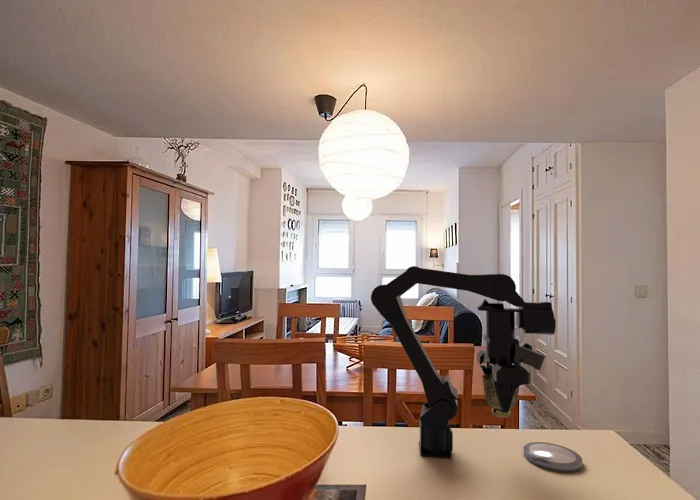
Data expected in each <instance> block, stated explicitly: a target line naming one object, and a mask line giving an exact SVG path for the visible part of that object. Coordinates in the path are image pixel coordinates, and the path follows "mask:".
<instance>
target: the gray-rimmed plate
mask: <svg viewBox="0 0 700 500" xmlns="http://www.w3.org/2000/svg"><path fill="white" fill-rule="evenodd" d="M523 456H524V458H525V459H526V460H527V461H528V462H529V463H531V464H533V465H534V466H537V467H540V468H542V469H545V470H547V471H552V472H557V473H564V474H565V473H567V474H569V473H577V472H579V471H581V470H583V458H582V457H581V455H580V454H578V453H577V452H576V451H574V450H573V449H570V448H568V447H566V446H563V445H559V444H556V443H551V442H546V441H534V442H532V441H531V442H528V443H525V444H524V446H523Z"/></svg>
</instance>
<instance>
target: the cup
mask: <svg viewBox="0 0 700 500" xmlns="http://www.w3.org/2000/svg"><path fill="white" fill-rule="evenodd" d="M491 377H492V378H493V376H492V374H491V373H490V374H489V376H488V375H487V374H486V373H485V374H484V375H483V374H482V375H481V378H482V384H483V392H484V398H485V400H486V402H487V404H488V406H489V407H491V412H492V414H493V416H495V417H498V418H509V417H510V416H511V410H513V408H515V407H516V405H517V403H518V400H519V399H518V398H519V392H520V390H519V389H520V386H519V387H518V388H516V390H515V393H514V396H513V399H512V402H511V406H510V409H509V412H508V413H506V412H503V411H502V409H501V406H500V403H499V400H498V397H497V394H496V392H495V389H494V386H493V383H492V380H491Z"/></svg>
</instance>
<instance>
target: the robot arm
mask: <svg viewBox="0 0 700 500" xmlns="http://www.w3.org/2000/svg"><path fill="white" fill-rule="evenodd" d="M417 284H419V285H425V286H426V285H427V286H433V287H440V288H445V289H446V288H447V289H454V290H460V291H467V292H471V293H473V294H477V295H479V296H482V297H485V298H489V299H492V300H495V301H499V303H498V302H496V303H495V302H489V301H488V300H487V299H485V298H484V299H483V300H482V301H481V303H480V304H479V305H477V306H476V309H477V310H478V311H480V312H481V311H482V312H484V311H485V318H486V319H485V321H486V323H485V324H486V325H485V326H486V327H485V328H486V329H485V330H486V333H485V334H483V340H484V341H486V342H485V343H486V344H485V345H486V349H480V351H478V352H477V353H476V362H477V363H478V364H479V369H480V370H481V372H482V375H484V374H485V373H486V374H487V375H488V376H489V374H490V373H491V374H492V376H493V378H492V377H491V380H492V383H493V386H494V389H495V392H496V394H497V397H498V400H499V403H500V406H501V409H502V411H503V412H506V413H508V412H509V409H510V406H511V402H512V399H513V396H514V393H515V390H516V388H518V387H519V388H520V387H521V386H523V385H530V384H531V373H530V372H529V371H528V370H527V369H526V367H524V366H522V365H521V363H522V364H525V365H527V366H529V367H533V369H534V370H537V371H541V369H542V367H543V363H544V361H545V359H546V356H545V355H543V354H541V353H540V352H538V351H535V350H533V346H532V344H529V343H527V342H524V341H522V342H521V343H520V340H518V338H516V336H515V335H516V334H515V333H516V330H515V326H516V328H517V329H521V330H522V333H523V334H524V335H525V334H526V335H529V334H530V335H544V336H547V335H548V336H554V335H555V333H556V325H557V323H556V322H557V321H556V318H555V313H554V310H553V306H552V305H553V304H552V302H551V301H540V302H536V301H535V302H533V301H532V302H531V301H525V300H524V298H522V297H521V295H520V294H519V293H518V292H517V285H516V283H515V281H514V280H513V278H512V277H511V276H509V275H508V274H505V273H493V274H492V273H491V274H490V273H488V274H486V273H485V274H484V273H483V274H465V273H458V272H452V271H445V270H444V271H443V270H439V269H438V270H436V269H431V268H425V267H424V268H423V267H419V266H416V265H415V266H414V265H413V266H410V267H408V268H407V269H406V270H405V271H404V272H402V273H401V274H400V275H398V276H396V277H395V278H394V279H392V280H390V281H389V282H388V283H387V284H379V285H376V286H375V288H373V290H372V292H371V295H370V301H371V304H372V305H373V307H374V308H375V309H376V311H377V312H378V314H379V315H380V316H381V317H382V318H384V320H385V321H387V323H388V324H389V325H390V326H391V328H392V329H393V332H394V334H395V335H396V337H397V338H398V340H399V342H400V344H401V346H402V348H403V349H404V352H405V354H406V355H407V357H408V359H409V361H410V362H411V364H412V366H413V368H414V371H416V374H417V375H418V377H419V379H420V381H421V383H422V387H423V392H424V395H425V398H426V402H425V403H424V404H423V405H422V407H421V412H420V416H419V441H418V448H419V455H420V456H421V457H432V458H433V457H434V458H446V459H447V458H448V459H451V458H452V452H453V450H454V449H453V443H454V442H453V441H454V440H453V439H454V438H453V437H454V435H453V430H452V428H451V425H450V422H449V421H451V420H452V419H454V418H455V417H456V415H457V413H458V390H457V388H456V387H454V385H453V383H452V382H451V379H450V376H449V374H447V375H445V376H442V375H441V374H440V373H439V372H438V370H437V369H436V367H435V366H434V364H433V362H432V360H431V358H430V357H429V355H428V353H427V351H426V350H425V348H424V346H423V344H422V342H421V340H420V338H419V337H418V335H417V333H416V331H415V330H414V328H413V326H412V325H411V323H410V321H409V318H408V317H407V313H406V311H405V306H404V302H403V300H402V298H401V296H403V295H404V294H405V293H406V292H408V291H409V290H410V289H412V288H413V287H415V286H416V285H417ZM500 302H502V303H500ZM504 302H506V303H507V304H509V305H511V306H513V308H508V307H505V306H504ZM514 307H516V308H514ZM515 313H516V317H515ZM515 318H516V323H515ZM515 324H516V325H515ZM510 410H511V409H510Z"/></svg>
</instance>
